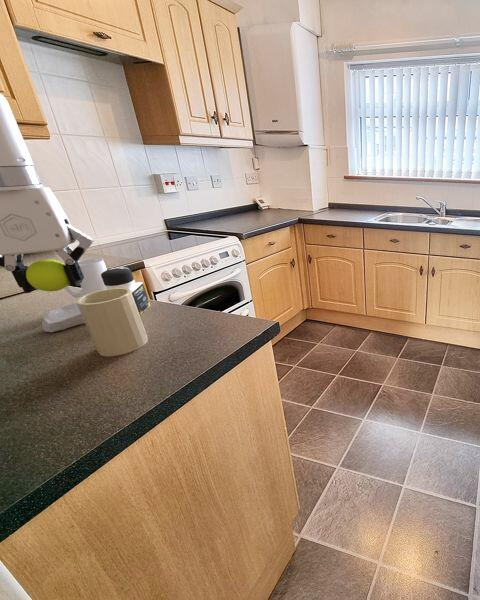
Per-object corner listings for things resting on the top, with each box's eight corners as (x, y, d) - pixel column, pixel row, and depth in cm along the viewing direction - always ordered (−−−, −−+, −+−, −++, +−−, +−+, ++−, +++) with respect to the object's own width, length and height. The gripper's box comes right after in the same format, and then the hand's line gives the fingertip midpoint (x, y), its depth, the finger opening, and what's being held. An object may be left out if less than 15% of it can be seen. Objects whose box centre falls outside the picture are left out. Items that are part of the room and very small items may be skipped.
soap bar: (58, 344, 81) (41, 330, 77) (47, 332, 84) (29, 317, 79) (103, 318, 87) (89, 304, 83) (91, 307, 89) (76, 292, 85)
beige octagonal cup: (93, 360, 69) (69, 307, 64) (104, 341, 76) (83, 292, 71) (144, 349, 73) (125, 299, 68) (150, 332, 80) (134, 285, 75)
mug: (117, 295, 101) (102, 256, 96) (119, 301, 96) (103, 261, 91) (72, 304, 95) (54, 263, 90) (72, 312, 90) (52, 269, 85)
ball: (28, 298, 56) (12, 266, 54) (42, 287, 61) (28, 257, 59) (71, 292, 59) (57, 262, 56) (81, 282, 63) (69, 253, 61)
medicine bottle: (141, 316, 88) (125, 272, 83) (108, 320, 86) (90, 275, 81) (151, 305, 94) (137, 264, 89) (121, 308, 92) (105, 266, 87)
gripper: (-95, 183, 46) (-26, 304, 53) (68, 178, 53) (109, 286, 60) (-58, 179, 52) (0, 288, 59) (84, 175, 59) (120, 273, 66)
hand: (54, 286), depth 59 cm, fingers closed on ball, 5 cm apart
